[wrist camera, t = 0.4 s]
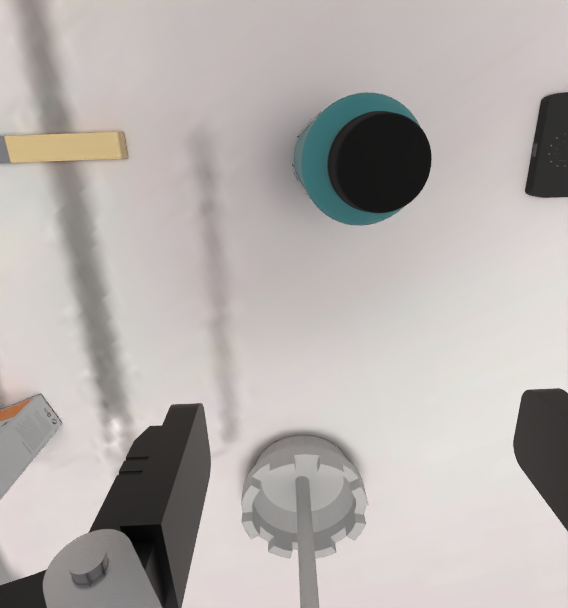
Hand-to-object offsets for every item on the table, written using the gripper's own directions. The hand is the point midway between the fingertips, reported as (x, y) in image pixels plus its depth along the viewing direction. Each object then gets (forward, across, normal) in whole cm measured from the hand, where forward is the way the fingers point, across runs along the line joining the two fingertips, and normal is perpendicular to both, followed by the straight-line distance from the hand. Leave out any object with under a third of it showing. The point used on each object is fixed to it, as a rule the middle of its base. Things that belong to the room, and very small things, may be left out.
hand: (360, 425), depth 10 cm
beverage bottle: (+28, -2, -6) cm, 29 cm away
